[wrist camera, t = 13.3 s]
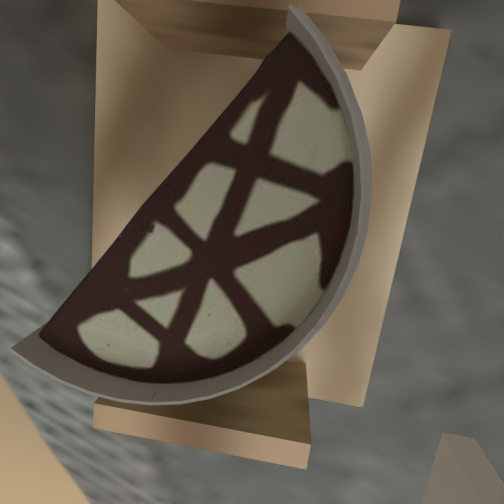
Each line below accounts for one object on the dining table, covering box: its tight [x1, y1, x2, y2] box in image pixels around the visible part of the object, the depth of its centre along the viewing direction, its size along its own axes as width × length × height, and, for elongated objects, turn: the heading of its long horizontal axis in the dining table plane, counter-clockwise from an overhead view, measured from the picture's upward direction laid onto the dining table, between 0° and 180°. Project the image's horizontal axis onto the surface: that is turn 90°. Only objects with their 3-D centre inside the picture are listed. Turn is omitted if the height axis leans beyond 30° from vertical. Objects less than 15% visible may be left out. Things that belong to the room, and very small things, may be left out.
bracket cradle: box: [92, 0, 452, 469], centre depth 16 cm, size 16×19×7 cm
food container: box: [9, 4, 372, 405], centre depth 14 cm, size 12×6×10 cm, turn 137°
